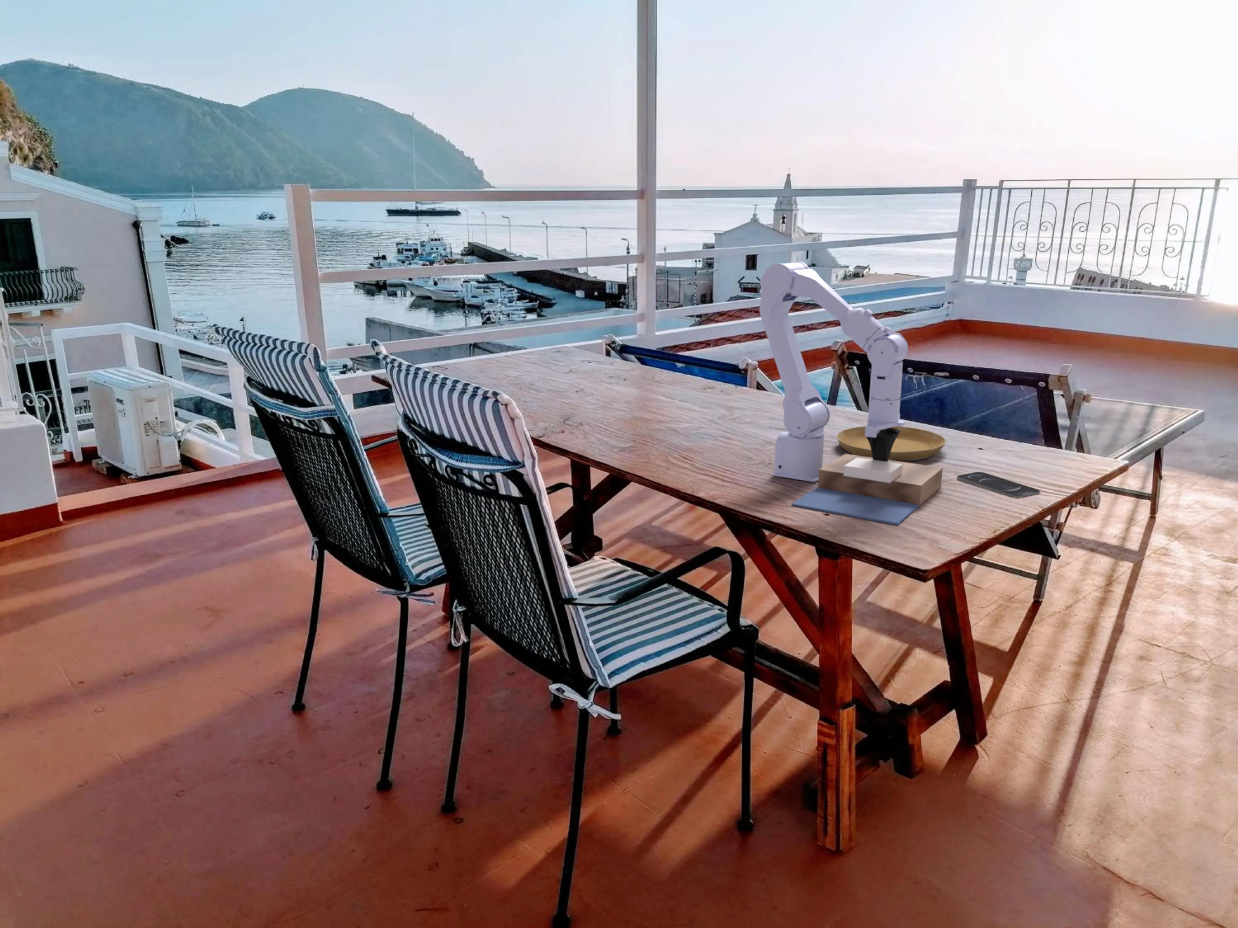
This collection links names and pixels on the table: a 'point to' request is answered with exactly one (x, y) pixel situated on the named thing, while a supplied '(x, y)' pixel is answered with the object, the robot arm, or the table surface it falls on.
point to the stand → (905, 488)
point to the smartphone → (998, 484)
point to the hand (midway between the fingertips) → (880, 465)
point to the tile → (873, 470)
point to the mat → (856, 505)
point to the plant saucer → (905, 447)
